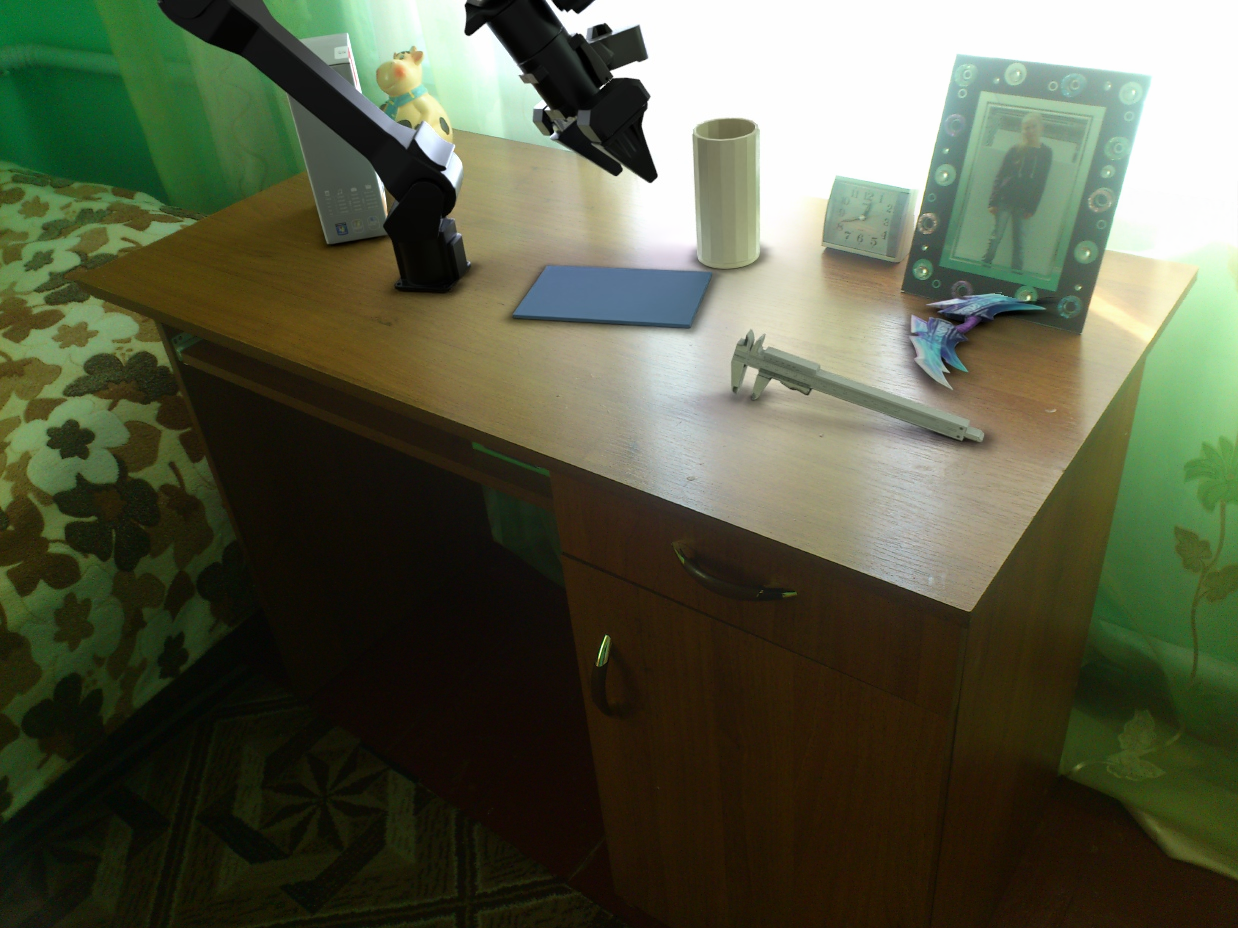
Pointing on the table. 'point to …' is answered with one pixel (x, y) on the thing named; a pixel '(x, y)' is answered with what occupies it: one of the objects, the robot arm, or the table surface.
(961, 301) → the decorative blades
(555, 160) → the table surface
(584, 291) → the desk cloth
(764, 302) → the table surface
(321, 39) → the hard drive box
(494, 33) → the robot arm
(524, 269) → the table surface
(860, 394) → the caliper
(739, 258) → the pen cup
